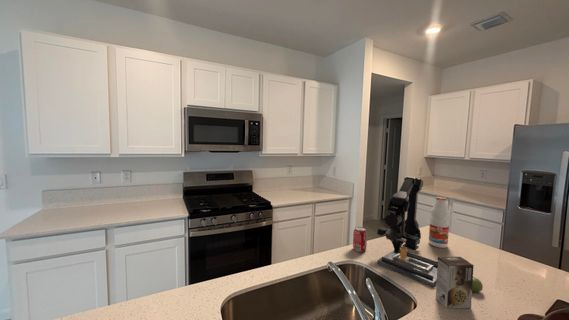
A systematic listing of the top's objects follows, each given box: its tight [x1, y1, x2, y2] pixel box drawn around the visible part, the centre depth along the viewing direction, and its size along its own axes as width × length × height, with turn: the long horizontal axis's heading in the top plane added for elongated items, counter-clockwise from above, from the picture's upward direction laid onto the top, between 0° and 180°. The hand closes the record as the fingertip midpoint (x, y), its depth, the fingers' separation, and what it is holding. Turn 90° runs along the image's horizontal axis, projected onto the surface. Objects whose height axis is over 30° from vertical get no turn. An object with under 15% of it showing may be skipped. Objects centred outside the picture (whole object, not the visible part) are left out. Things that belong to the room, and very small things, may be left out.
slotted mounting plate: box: [380, 248, 438, 280], centre depth 112 cm, size 22×17×1 cm
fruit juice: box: [428, 196, 450, 249], centre depth 138 cm, size 9×9×28 cm
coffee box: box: [435, 256, 474, 309], centre depth 87 cm, size 9×6×16 cm
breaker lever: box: [398, 246, 409, 261], centre depth 115 cm, size 3×4×6 cm
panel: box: [376, 249, 437, 288], centre depth 112 cm, size 20×24×3 cm
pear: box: [472, 276, 484, 293], centre depth 97 cm, size 6×5×10 cm
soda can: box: [352, 226, 368, 253], centre depth 129 cm, size 7×7×12 cm
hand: (396, 252), depth 117 cm, fingers closed
